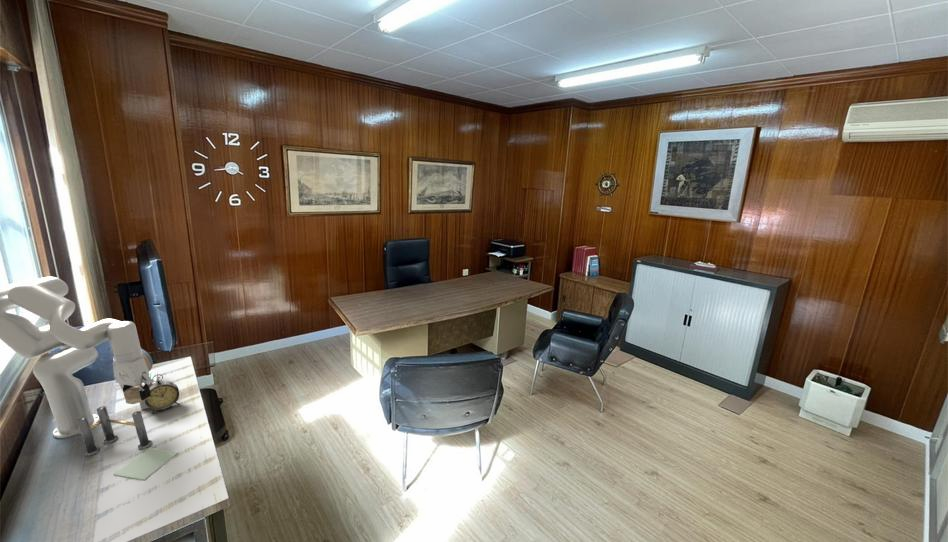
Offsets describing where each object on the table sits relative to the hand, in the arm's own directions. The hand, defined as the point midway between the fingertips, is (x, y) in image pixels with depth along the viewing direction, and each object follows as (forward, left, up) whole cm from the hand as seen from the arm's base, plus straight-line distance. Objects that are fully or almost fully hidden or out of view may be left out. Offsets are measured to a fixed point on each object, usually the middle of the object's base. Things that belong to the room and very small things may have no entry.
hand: (137, 396), depth 138 cm
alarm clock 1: (-35, +26, -15) cm, 46 cm away
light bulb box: (-15, +15, -15) cm, 26 cm away
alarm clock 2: (-5, +12, -15) cm, 20 cm away
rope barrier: (+1, -10, -15) cm, 18 cm away
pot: (0, 0, -1) cm, 1 cm away
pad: (+17, -14, -15) cm, 27 cm away
